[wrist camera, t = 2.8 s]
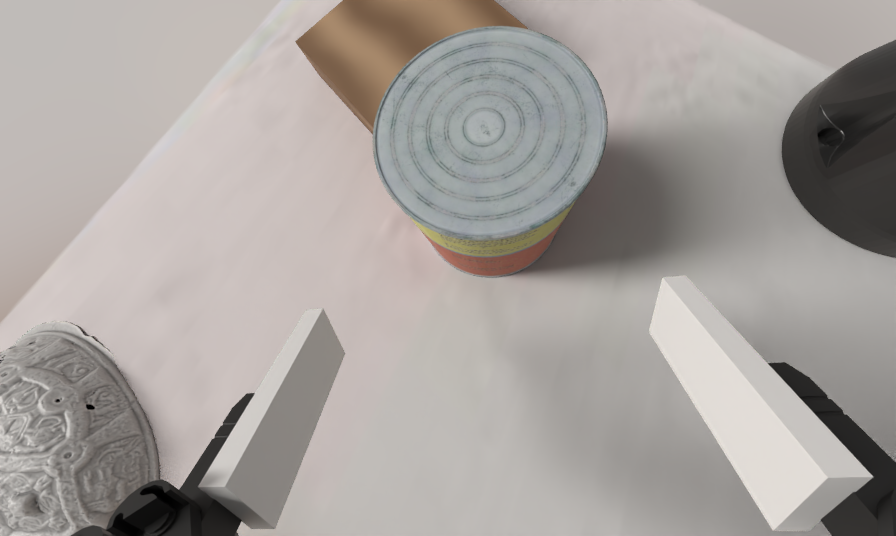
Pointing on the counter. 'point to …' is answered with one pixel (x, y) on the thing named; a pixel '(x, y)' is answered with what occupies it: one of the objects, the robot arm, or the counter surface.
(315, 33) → the walnut base
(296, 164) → the counter surface
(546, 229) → the canned food
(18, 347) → the silver oval dome
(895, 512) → the robot arm
